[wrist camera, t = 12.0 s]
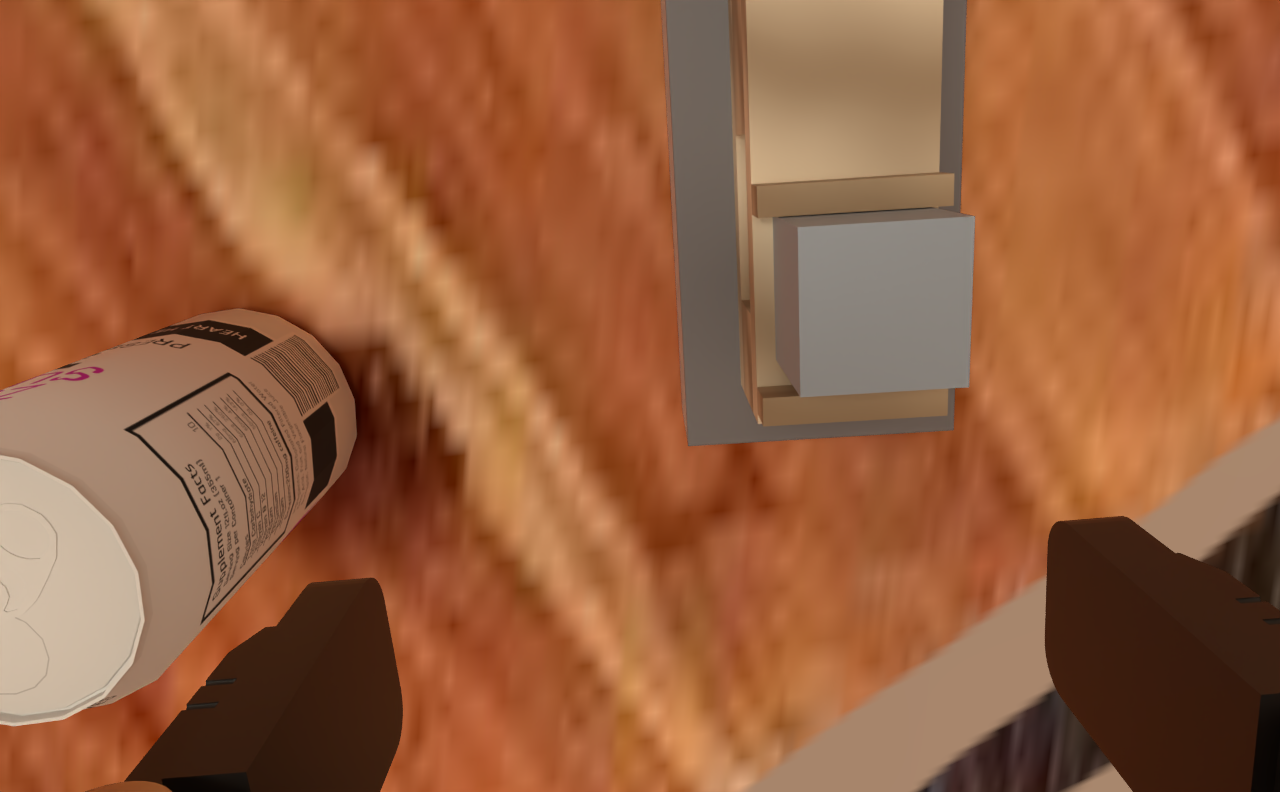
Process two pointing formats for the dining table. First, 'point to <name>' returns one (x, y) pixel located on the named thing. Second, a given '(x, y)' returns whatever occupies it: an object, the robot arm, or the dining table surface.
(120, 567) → the supplement can
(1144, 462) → the dining table surface
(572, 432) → the dining table surface
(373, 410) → the dining table surface
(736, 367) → the dock
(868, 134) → the pallet
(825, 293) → the block
